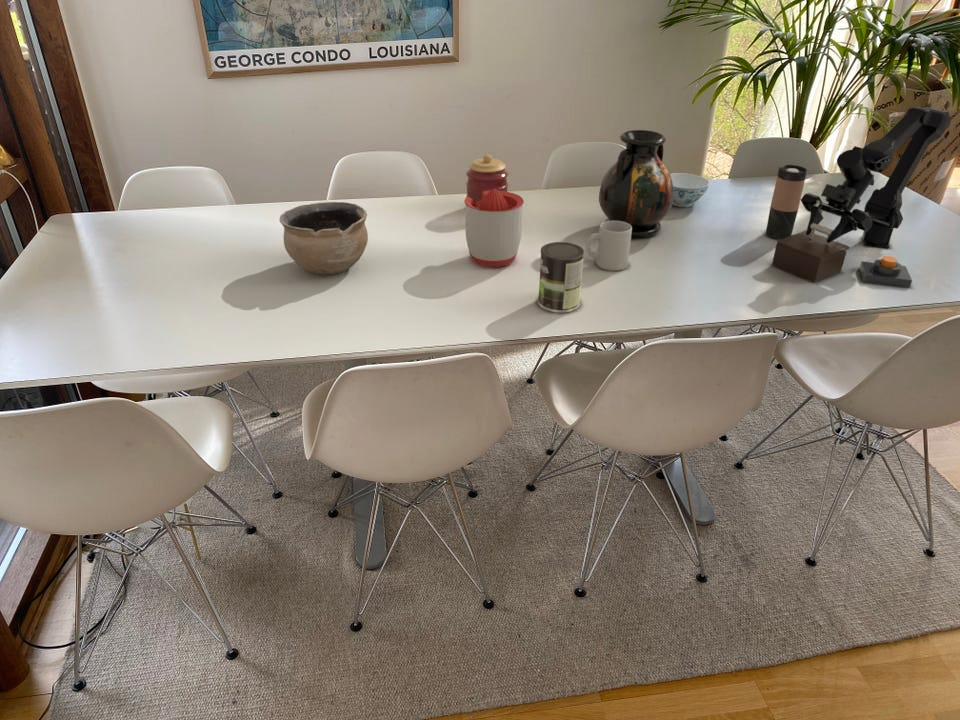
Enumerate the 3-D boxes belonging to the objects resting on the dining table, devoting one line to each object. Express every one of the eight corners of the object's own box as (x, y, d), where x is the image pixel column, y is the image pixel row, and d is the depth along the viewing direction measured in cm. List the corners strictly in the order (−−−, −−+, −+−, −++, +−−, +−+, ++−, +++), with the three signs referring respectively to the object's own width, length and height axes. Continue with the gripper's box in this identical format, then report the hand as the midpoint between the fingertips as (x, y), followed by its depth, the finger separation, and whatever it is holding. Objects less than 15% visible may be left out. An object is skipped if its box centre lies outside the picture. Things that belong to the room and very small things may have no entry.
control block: (903, 273, 206) (907, 259, 204) (909, 288, 198) (914, 273, 196) (859, 268, 208) (863, 255, 206) (863, 282, 201) (867, 268, 199)
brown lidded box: (797, 255, 215) (803, 234, 212) (840, 272, 206) (846, 251, 202) (771, 265, 210) (776, 243, 206) (814, 283, 200) (820, 260, 197)
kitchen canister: (514, 207, 245) (516, 152, 236) (493, 220, 236) (494, 163, 227) (480, 199, 251) (480, 145, 242) (458, 211, 242) (457, 156, 233)
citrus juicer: (488, 241, 222) (489, 173, 211) (533, 260, 211) (536, 189, 201) (448, 257, 212) (447, 186, 202) (493, 276, 202) (494, 203, 191)
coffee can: (541, 313, 184) (544, 259, 177) (535, 294, 193) (537, 242, 186) (583, 312, 185) (588, 258, 178) (575, 293, 194) (579, 241, 187)
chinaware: (710, 212, 244) (714, 188, 240) (662, 211, 244) (666, 187, 240) (699, 196, 256) (703, 173, 252) (654, 195, 256) (657, 172, 252)
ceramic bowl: (299, 291, 193) (292, 235, 185) (276, 259, 210) (269, 207, 202) (382, 275, 202) (379, 220, 194) (354, 245, 219) (350, 194, 211)
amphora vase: (637, 249, 218) (649, 151, 203) (581, 227, 232) (588, 133, 217) (683, 230, 230) (698, 136, 215) (627, 211, 244) (637, 121, 229)
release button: (893, 263, 202) (896, 257, 201) (896, 269, 199) (898, 262, 198) (879, 261, 203) (881, 255, 202) (881, 267, 200) (883, 260, 199)
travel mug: (793, 241, 224) (809, 173, 214) (766, 238, 225) (780, 171, 215) (789, 231, 230) (805, 165, 220) (763, 229, 232) (777, 163, 221)
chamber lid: (805, 232, 212) (809, 215, 209) (849, 249, 203) (853, 231, 200) (776, 243, 206) (780, 226, 204) (820, 260, 197) (824, 242, 194)
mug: (620, 256, 213) (624, 219, 208) (632, 269, 206) (637, 230, 201) (579, 260, 211) (582, 222, 205) (590, 273, 204) (594, 234, 198)
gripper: (812, 163, 204) (777, 212, 205) (877, 182, 191) (840, 234, 192) (824, 185, 212) (790, 232, 213) (887, 205, 199) (851, 255, 200)
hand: (816, 238), depth 204 cm, fingers closed on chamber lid, 6 cm apart
